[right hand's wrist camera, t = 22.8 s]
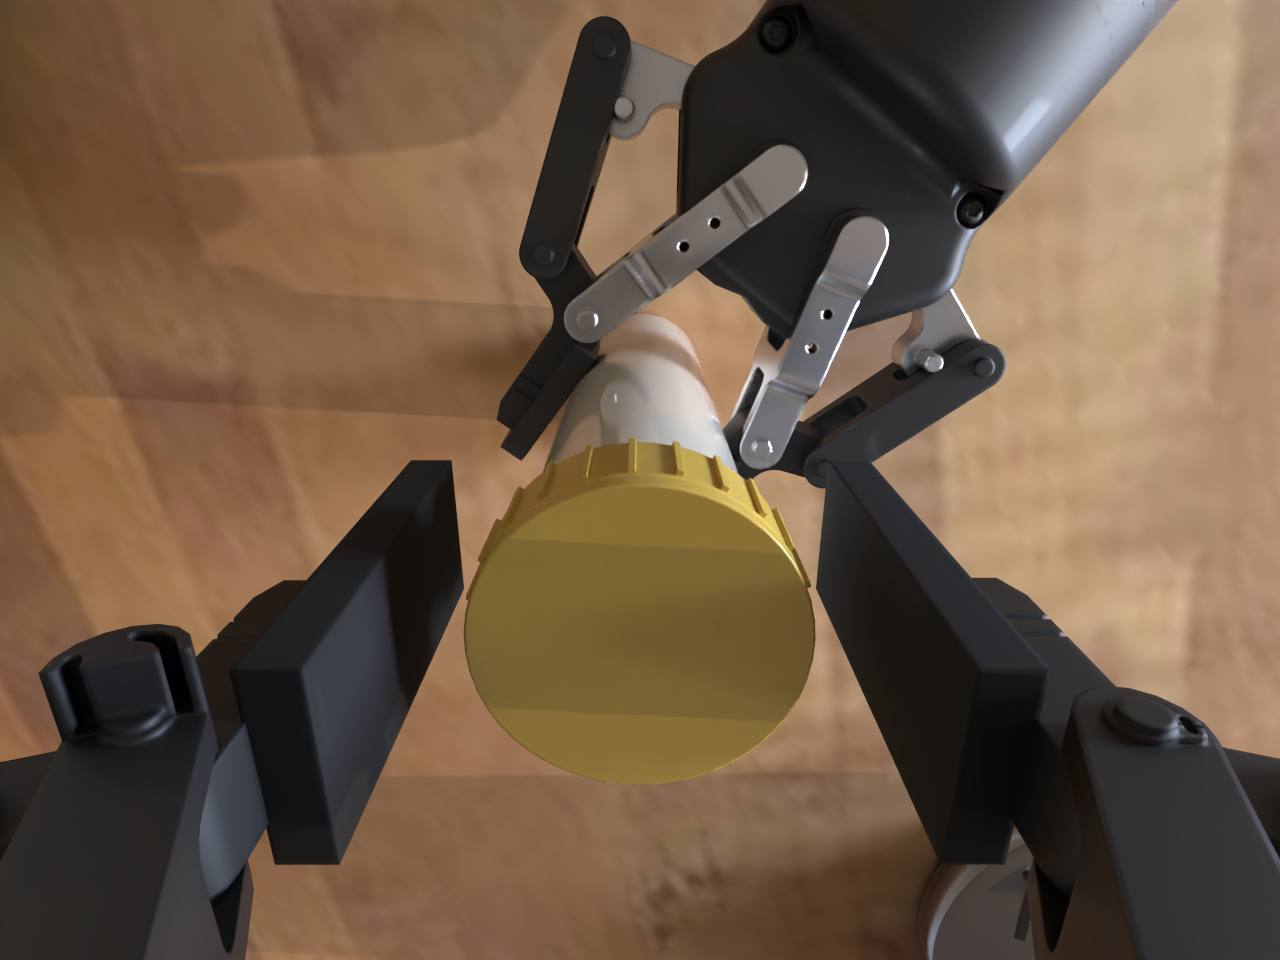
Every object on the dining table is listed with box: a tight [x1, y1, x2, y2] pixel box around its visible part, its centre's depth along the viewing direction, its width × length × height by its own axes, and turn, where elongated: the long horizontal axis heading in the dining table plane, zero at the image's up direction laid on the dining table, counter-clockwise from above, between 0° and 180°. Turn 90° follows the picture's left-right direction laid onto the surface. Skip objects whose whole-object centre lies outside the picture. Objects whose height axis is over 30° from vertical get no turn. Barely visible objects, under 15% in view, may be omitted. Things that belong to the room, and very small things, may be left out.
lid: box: [464, 438, 815, 785], centre depth 11 cm, size 5×5×2 cm
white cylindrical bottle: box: [541, 313, 738, 474], centre depth 19 cm, size 4×4×17 cm
